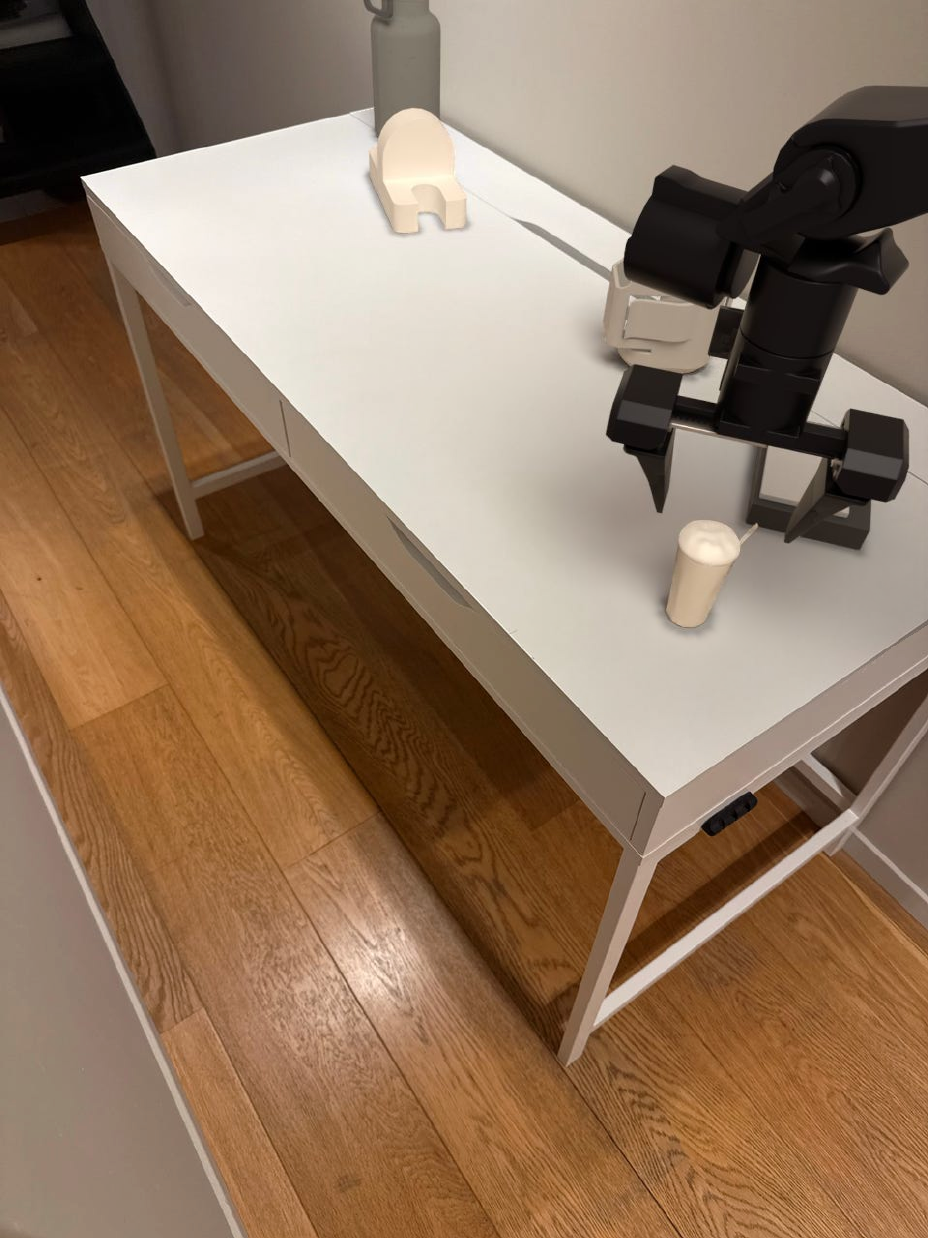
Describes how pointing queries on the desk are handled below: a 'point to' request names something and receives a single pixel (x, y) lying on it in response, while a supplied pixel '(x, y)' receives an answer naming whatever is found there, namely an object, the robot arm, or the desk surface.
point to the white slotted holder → (416, 171)
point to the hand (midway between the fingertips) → (722, 524)
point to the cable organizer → (657, 326)
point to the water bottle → (404, 58)
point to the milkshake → (701, 569)
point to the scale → (781, 491)
